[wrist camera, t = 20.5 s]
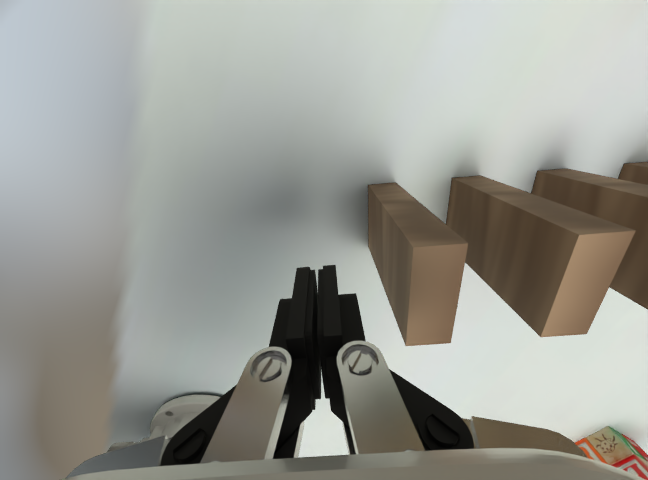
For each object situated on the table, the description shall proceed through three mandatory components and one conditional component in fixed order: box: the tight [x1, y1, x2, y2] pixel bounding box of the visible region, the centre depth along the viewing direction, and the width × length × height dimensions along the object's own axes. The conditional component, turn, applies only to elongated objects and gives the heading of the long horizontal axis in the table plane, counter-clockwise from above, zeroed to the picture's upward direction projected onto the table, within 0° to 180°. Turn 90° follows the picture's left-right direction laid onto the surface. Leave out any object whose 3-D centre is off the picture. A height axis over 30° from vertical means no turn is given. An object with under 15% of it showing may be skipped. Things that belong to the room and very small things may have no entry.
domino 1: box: [368, 183, 468, 346], centre depth 15 cm, size 2×5×10 cm, turn 5°
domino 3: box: [531, 169, 648, 309], centre depth 15 cm, size 2×5×10 cm, turn 4°
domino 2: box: [446, 176, 636, 337], centre depth 15 cm, size 2×5×10 cm, turn 4°
